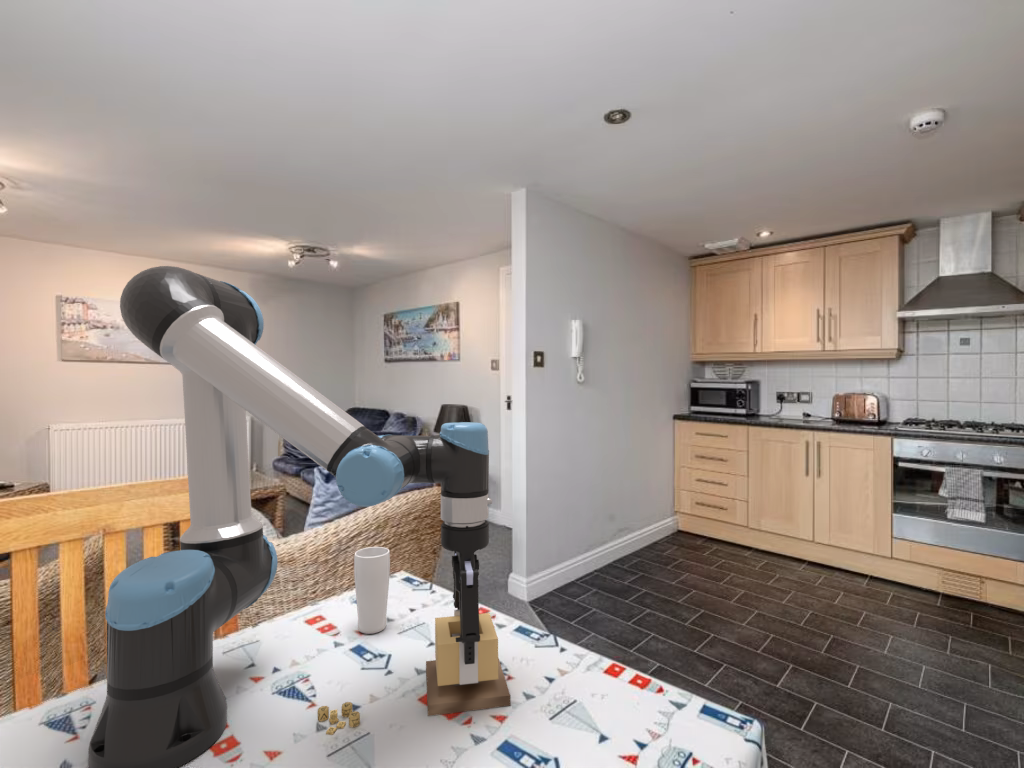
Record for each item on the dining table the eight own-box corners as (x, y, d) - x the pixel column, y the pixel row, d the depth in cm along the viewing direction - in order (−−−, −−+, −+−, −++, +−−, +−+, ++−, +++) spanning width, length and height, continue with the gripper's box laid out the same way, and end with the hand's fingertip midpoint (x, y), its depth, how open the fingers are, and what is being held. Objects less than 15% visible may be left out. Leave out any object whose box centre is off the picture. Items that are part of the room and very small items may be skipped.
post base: (427, 715, 72) (427, 663, 72) (426, 670, 84) (425, 624, 84) (510, 705, 74) (510, 654, 74) (497, 662, 86) (497, 618, 86)
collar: (437, 686, 74) (437, 644, 74) (435, 654, 83) (435, 617, 83) (498, 679, 76) (498, 638, 76) (489, 649, 84) (489, 613, 84)
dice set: (316, 721, 72) (316, 707, 72) (353, 710, 74) (353, 697, 74) (322, 742, 68) (322, 728, 68) (361, 730, 70) (361, 716, 70)
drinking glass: (351, 625, 100) (351, 549, 100) (385, 618, 103) (385, 544, 103) (357, 640, 94) (357, 559, 94) (393, 632, 97) (393, 554, 97)
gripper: (499, 539, 69) (500, 704, 69) (479, 504, 91) (480, 630, 90) (445, 542, 68) (445, 710, 68) (437, 506, 89) (438, 634, 89)
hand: (465, 664), depth 79 cm, fingers closed on collar, 9 cm apart
